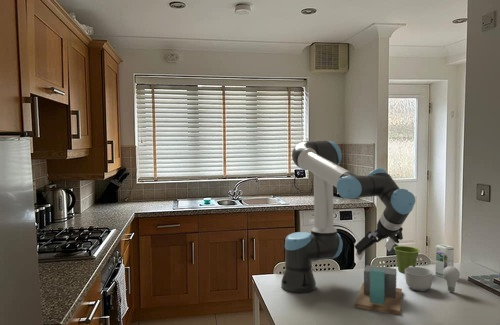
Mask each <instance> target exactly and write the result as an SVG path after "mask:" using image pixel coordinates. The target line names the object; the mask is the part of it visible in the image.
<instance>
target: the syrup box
mask: <svg viewBox="0 0 500 325" xmlns="http://www.w3.org/2000/svg"><path fill="white" fill-rule="evenodd" d="M454 253H455V247H454V246H451V245H447V244H437V245H435V273H434V274H435V276H437V277H440V278H443V279H445V277H444V275H443V270H444V269H445V268H446V267H448V266H453V267H455V266H454V260H455V257H454V256H455V254H454Z"/></svg>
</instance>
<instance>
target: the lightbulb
mask: <svg viewBox="0 0 500 325" xmlns="http://www.w3.org/2000/svg"><path fill="white" fill-rule="evenodd" d="M443 275H444V277H445V278H444V279H445V281H446V285H447V286H446V287H447V291H448V292H449V293H454V292H455V290H456V285H457V281H458V280H459V279H460V276H461V274H460V271H459V269H458V268H457V267H455V266H454V267H453V266H448V267H446V268H445V269H444V270H443Z"/></svg>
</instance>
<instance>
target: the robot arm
mask: <svg viewBox="0 0 500 325" xmlns="http://www.w3.org/2000/svg"><path fill="white" fill-rule="evenodd" d="M342 156H343V155H342V150H341V148H340V146H339V145H338V144H337V143H336V142H335V141H330V140H304V141H301V142H299V143H297V144H296V145H295V146H294V147H293V149H292V152H291V158H292V162H293V164H295V166H297V168H300V169H301V170H303V171H309V172H310V173H312V174H313V206H314V207H313V210H314V211H313V215H314V216H313V217H314V218H313V219H314V220H313V221H314V222H313V223H314V224H313V227H312V228H311V229H310V232H308V231H307V232H306V231H301V232H300V231H297V232H292V233H290V234H288V235H287V236H286V237H285V239H284V240H285V241H284V261H285V262H284V264H285V265H284V266H285V268H284V270H283V271H284V272H283V275H282V279H281V283H280V284H281V288H282V290H285V291H287V292H291V293H295V294H296V293H297V294H305V293H310V292H313V291H315V290H316V287H317V286H316V284H317V282H316V279H315V276H314V275H315V274H313V269H312V268H313V267H312V266H313V265H312V264H313V263H312V262H318V261H319V262H320V261H325V260H332V259H335V258H338V257H339V256H340V254H341V253H342V251H343V244H344V243H343V239H342V237H341V235H340V234H339V233H338V230H337V228H336V227H335V226H334V187H335V188H336V191H337V193H338V195H339V196H340V197H341V198H343V199H356V198H357V199H358V198H359V199H360V198H369V197H371V198H372V197H378V198H379V200H380V201H381V202H382V203H383V205H384V206H385V208H384V210H383V211H382V214H381V215H380V217H379V220H378V222H377V224H376V230H374V232H372V231H368V232H367V234H366V235H365V236H364V237H362V239H361V240H359V241H358V242H357V243H356V244H355V245H354V248H355V250H356V253H355V255H356V256H357V259H358V260H359V261H360V260H362V259H363V258H362V257H363V256H364V255H365V253H366V250H367V249H368V248H370V247H371V246H372V245H374V244H376V243H379V242H381V241H382V240H384V239H388V240H387V242H386V243H385V245H384V247H385V248H386V250H387V251H388V252H391V251H392V249H393V248H394V247H395V245H396V244H399V243H400V241H402V240H403V239H404V237H403V236H404V235H403V227H402V226H403V224H404V223H405V221H406V219H407V218H408V216H409V214H411V212H412V211H413V208H414V206H415V204H416V197H415V195H414V194H413V193H412V192H411V191H409V190H408V189H405V188H400V187H399V185H398V184H397V183H396V182H395V180H394V179H393V177H392V175H390V174H389V172H387V171H386V170H385V169H384V168H382V167H381V168H380V167H379V168H376V169H373V170H371V171H370V172H369V173H368V175H358V174H355V173H353V172H351V171H350V170H348V169H345V168H344V167H342V166H340V164H341V162H342Z"/></svg>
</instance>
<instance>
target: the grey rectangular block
mask: <svg viewBox="0 0 500 325" xmlns="http://www.w3.org/2000/svg"><path fill="white" fill-rule="evenodd" d="M371 268H373V269H382V270H385V297H388V298H394V299H396V288H397V268H392V267H384V266H377V265H376V266H375V265H365V267H364V270H363V283H364V294H368V295H370V269H371Z"/></svg>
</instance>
